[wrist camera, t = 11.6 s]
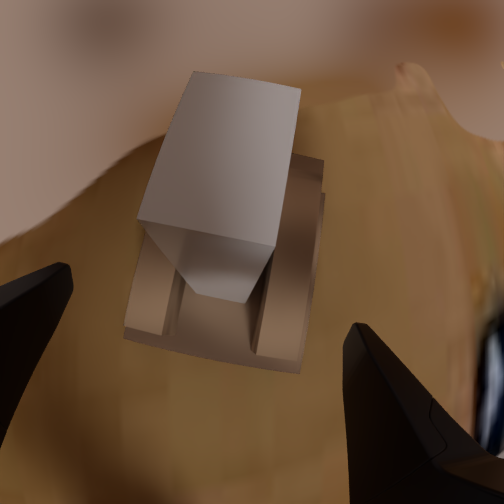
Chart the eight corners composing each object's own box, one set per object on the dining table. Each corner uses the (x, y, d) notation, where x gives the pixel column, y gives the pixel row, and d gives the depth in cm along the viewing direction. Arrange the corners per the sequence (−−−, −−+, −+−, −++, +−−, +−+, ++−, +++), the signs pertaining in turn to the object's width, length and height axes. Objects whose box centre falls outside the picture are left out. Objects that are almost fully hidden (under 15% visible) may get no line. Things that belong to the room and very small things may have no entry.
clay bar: (245, 303, 19) (275, 246, 7) (196, 293, 19) (136, 218, 6) (258, 233, 20) (301, 89, 8) (212, 224, 20) (193, 71, 8)
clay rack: (294, 371, 20) (316, 383, 14) (130, 338, 19) (98, 338, 14) (319, 201, 23) (343, 165, 17) (171, 174, 23) (158, 131, 17)
